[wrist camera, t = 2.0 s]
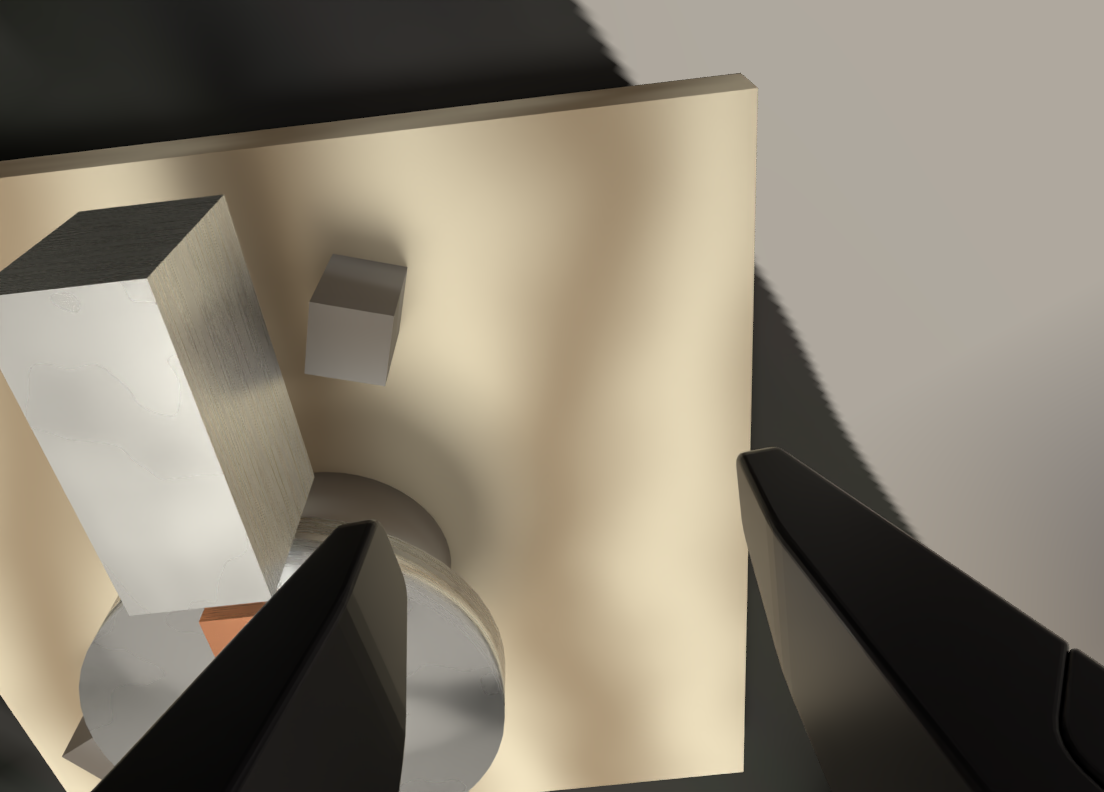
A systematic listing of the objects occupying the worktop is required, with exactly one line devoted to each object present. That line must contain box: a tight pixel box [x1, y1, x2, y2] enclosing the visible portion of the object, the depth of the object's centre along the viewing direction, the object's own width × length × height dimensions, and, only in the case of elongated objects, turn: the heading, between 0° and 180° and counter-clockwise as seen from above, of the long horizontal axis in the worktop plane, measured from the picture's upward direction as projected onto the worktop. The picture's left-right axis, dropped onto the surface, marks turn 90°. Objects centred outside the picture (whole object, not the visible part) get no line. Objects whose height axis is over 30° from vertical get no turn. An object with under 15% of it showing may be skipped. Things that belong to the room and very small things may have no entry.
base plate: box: [0, 73, 758, 792], centre depth 22 cm, size 22×22×5 cm
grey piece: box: [0, 194, 505, 792], centre depth 17 cm, size 16×9×4 cm, turn 6°
